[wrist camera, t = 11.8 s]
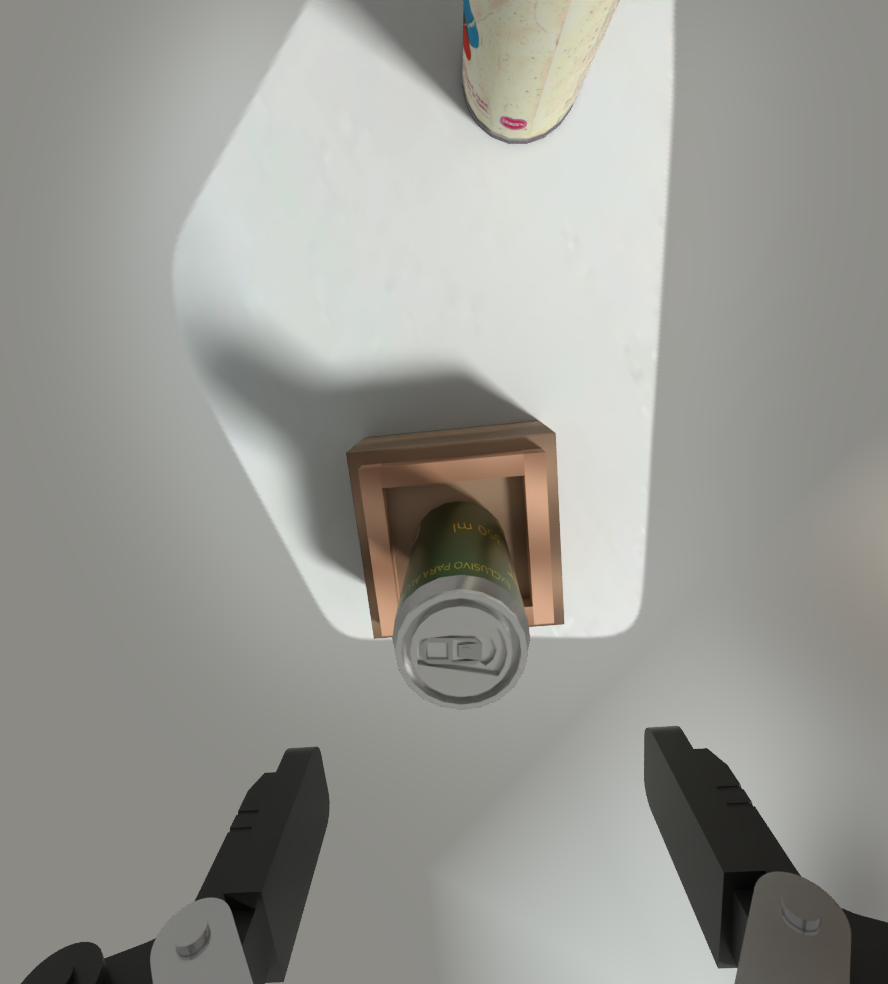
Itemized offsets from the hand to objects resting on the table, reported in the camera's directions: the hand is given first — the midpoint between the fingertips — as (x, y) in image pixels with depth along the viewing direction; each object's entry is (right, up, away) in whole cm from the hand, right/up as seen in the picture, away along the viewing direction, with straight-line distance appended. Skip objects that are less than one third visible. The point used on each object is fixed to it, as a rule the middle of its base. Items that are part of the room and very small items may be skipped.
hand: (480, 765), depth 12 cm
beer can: (0, +4, +18) cm, 19 cm away
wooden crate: (0, +5, +24) cm, 24 cm away
